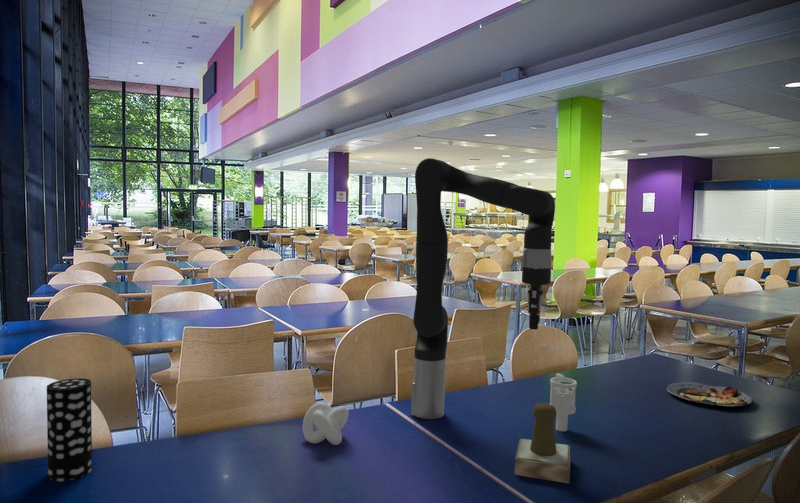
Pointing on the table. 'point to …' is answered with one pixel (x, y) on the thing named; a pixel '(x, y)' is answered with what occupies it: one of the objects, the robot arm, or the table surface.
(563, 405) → the grey mechanical part
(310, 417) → the grey torus knot
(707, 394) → the food plate
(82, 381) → the white-spotted black cylinder
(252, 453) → the table surface
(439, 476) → the table surface
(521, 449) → the base block
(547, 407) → the cork
